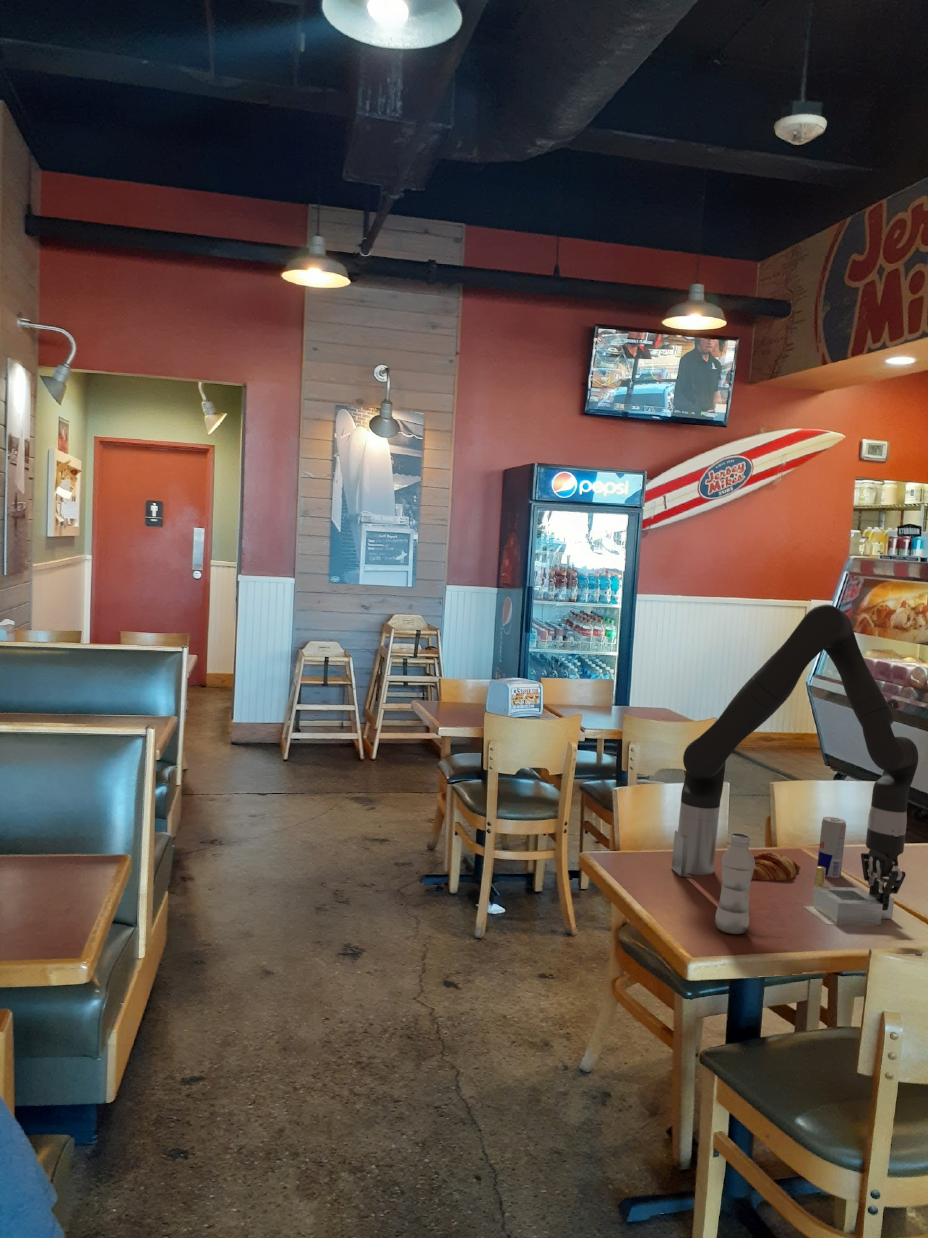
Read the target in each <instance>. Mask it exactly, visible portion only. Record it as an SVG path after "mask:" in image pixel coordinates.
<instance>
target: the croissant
mask: <svg viewBox="0 0 928 1238" xmlns="http://www.w3.org/2000/svg"><path fill="white" fill-rule="evenodd" d="M753 857H754V860H755V868H754V871H753V875H752V879H751V880H761V881H774V880H775V881H780V880H782V881H783V880H791V879H792V878H794V877H795V876H796V874H798V873H800V871H801V864H800V863H799V862H796V861H795V860H794V859H792V858H788V857H787V856H785V855H783V854H780V853H779V854H777V853H775V852H772V851H765V852H764V851H762V852H759V853H757V854H756V855H753Z"/></svg>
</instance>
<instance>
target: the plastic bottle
mask: <svg viewBox="0 0 928 1238" xmlns="http://www.w3.org/2000/svg"><path fill="white" fill-rule="evenodd" d="M729 843H730V846H729V847H728V848H727V849H726V851H725V852H724V853H723V854H722V857H721V891H720V894H719V895H720V897H719V901H718V906H717V908H716V911H715V918H714V920H715V926H716V927H717V929H719V930H720V931H721V932H724V933H726V934H727V933H728V934H731V935H740V934H745V932H746V931H747V930H748V927H749V924H750V915H749V913H750V912H749V895H750V889H751V882H752V880H753V879H752V875H753V871H754V868H755V860H754V855H753V854H752V852H751V850H750V849H749V847H750V846H751V837H750V835H748V834H745V833H740V832H732V833H730V839H729Z"/></svg>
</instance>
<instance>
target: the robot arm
mask: <svg viewBox="0 0 928 1238" xmlns="http://www.w3.org/2000/svg"><path fill="white" fill-rule="evenodd" d="M823 650H824V651H825V653H826V654H827V655H828V657H829V659H831V661H832V663H833V664H834V667H835V668H836V670H837V672H838V674H839V676H840V679H841V683H842V685H843V688H844V693H845V695H846V698H847V700H848V702H849V705H850V707H851V709H852V711H853V713H854V715H855V717H856V719H857V721H858V722H859V725H860V726H861V728H862V733H863V739H864V742H865V745H866V750H867V753H868V755H869V757H870V758H871V760H872V762H873V763H874V765H876V767H878V768H879V769H881V770H883V771H882V775H881V777H879V779H878V780H875V782H874V784H873V786H872V788H873V789H872V793H871V794H872V795H871V804H870V805H871V806H870V808H869V814H868V819H867V828H866V838H865V847H866V848H867V849H868V850H869V851H868V853H867V852H866V853H865V852H861V854H860V858H861V859H860V860H861V868H862V874H863V880H864V881H865V882H867V885H868V887H869V890H868V891H869V893H868V894H878V900H877V901H878V902H880V903H881V904H883V907H882V910H888V907H889V898H890V896H891V894H893V895H895V894H896V895H897V894H898V892H899V890H900V889H901V887H902V885H903V882H904V880H905V879H906V877H907V876H906V875H907V873H906V872H905V871H901V870H900V868H899V859H898V857H899V856H900V855H902V854H903V853H904V851H905V842H906V830H907V823H908V819H907V817H908V816H907V811H908V810H907V809H908V802H909V791H910V789H911V788H910V787H911V785H912V784H913V781H914V779H915V778H914V777H915V774H916V771H917V768H918V763H919V752H918V748H917V745H916V743H915V742H914V741H912V740H911V739H910V738H908V737H906V736H895V734H894V730H893V728H892V724H893V723H894V722H895V717H894V714H893V712H892V711H893V710H892V709H891V707H890V705H889V704H888V702H887V700H886V698H885V697H884V693H883V692H882V691H881V689H880V687H879V685H878V683H877V682H876V680H875V678H874V676H873V675H872V672H871V671H870V670H869V667H868V666H867V663H866V661H865V659H864V656H863V654H862V652H861V649H860V646H859V643H858V640H857V637H856V634H855V631H854V628H853V625H852V622H851V619H850V617H849V616H848V615H847V614H846V613H845V612H843V611H842V610H841V609H840V608H838V607H836V606H834V605H832V604H828V603H827V604H819V605H817V606H815V607H813V608H811V609H810V610H809V611H808V612H807V613H806V614H805V615H804V617H802V619H801V620H800V622H799V623H798V624H797V626H796V627H795V629H794V630H793V632H792V633H791V634H790V635H789V636H788V637H787V639H786V641H784V643H783V644H782V645H781V646H780V648H779V649H777V650H776V651H775V652H774V653H772V655H771V657H769V658H768V659H767V661H766V662H765V663H764V664H763V665H762V666H761V667H760V668H759V669H758V670H757V671H756V672H755V673H754V674H753V675H752V676H751V677H750V679H748V680H747V682H746V683H744V685H743V686H742V687H741V688H740V690H739V691H738V692H737V693H736V694H735V695H734V697H733V698H732V699H731V700H730V702H729V703H728V705H727V706H726V708H725V709H724V710H723V712H722V713H721V715H720V716H719V717H718V718H717V720H716V721H715V722H714V723H713V724H712V725H711V726H710V727H708V729H707V730H706V731H705V732H703V733H702V734H701V735H700V736H698V737H697V738H696V739H694V740H692V742H690V743H689V744H688V745H687V746H686V748H685V750H684V753H683V756H682V762H683V766H684V769H685V775H684V781H683V786H682V789H681V796H680V806H679V807H680V808H679V817H678V827H677V830H675V831H674V836H673V848H672V856H671V857H672V858H671V869H672V871H674V873H676V874H677V875H678V876H679V877H684V878H685V877H686V878H691V879H693V877H692V875H699V876H706V875H707V876H708V875H712V874H713V873H714V870H715V862H716V861H715V858H716V848H717V838H718V828H719V826H718V825H719V817H720V809H721V808H720V807H721V799H722V795H723V790H724V781H725V773H726V771H725V770H726V761H727V759H728V758H729V757H730V755H731V754H733V752H734V750H735V749H736V748H737V747H738V746H739V744H741V743H742V742H743V741H744V740H745V739H746V738H747V737H748V736H750V735H751V734H752V733H753V732H754V731H755V730H757V729H758V728H759V727H760V726H762V725H763V724H764V723H765V722H766V721H768V720H769V718H770V717H772V716H773V714H775V712H777V710H779V708H780V707H782V706H783V704H784V703H785V702H786V701H787V700H788V698H789V697H790V696H791V695H792V693H793V692H794V690H795V688H796V686H797V684H798V683H799V680H800V678H801V676H802V675H803V673H804V671H805V669H806V668H807V667H808V665H809V664H810V663H811V662H812V661H813V660H814V659H815V658H816V657H817V656H818V655H819V654H820V653H821V652H822V651H823Z"/></svg>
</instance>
